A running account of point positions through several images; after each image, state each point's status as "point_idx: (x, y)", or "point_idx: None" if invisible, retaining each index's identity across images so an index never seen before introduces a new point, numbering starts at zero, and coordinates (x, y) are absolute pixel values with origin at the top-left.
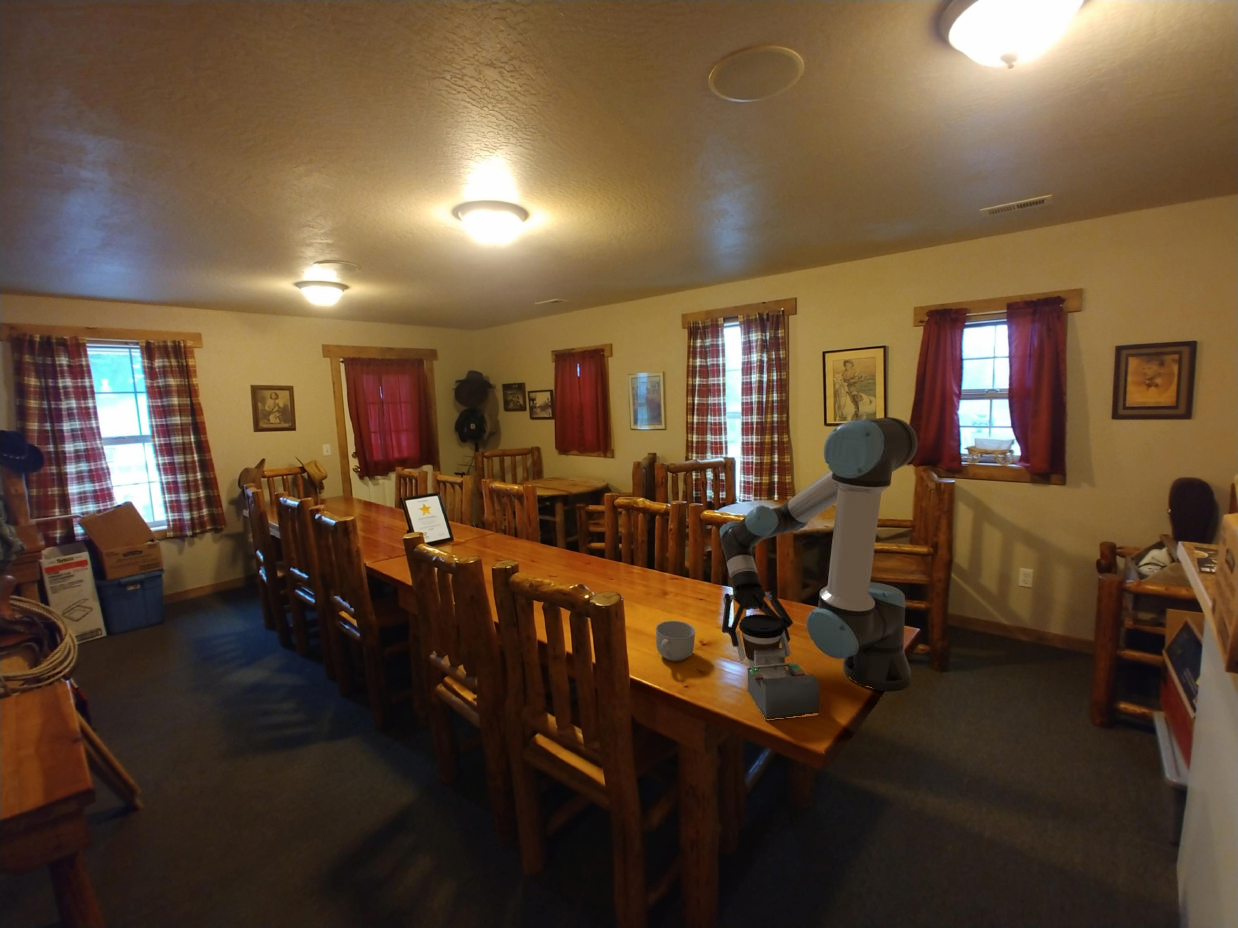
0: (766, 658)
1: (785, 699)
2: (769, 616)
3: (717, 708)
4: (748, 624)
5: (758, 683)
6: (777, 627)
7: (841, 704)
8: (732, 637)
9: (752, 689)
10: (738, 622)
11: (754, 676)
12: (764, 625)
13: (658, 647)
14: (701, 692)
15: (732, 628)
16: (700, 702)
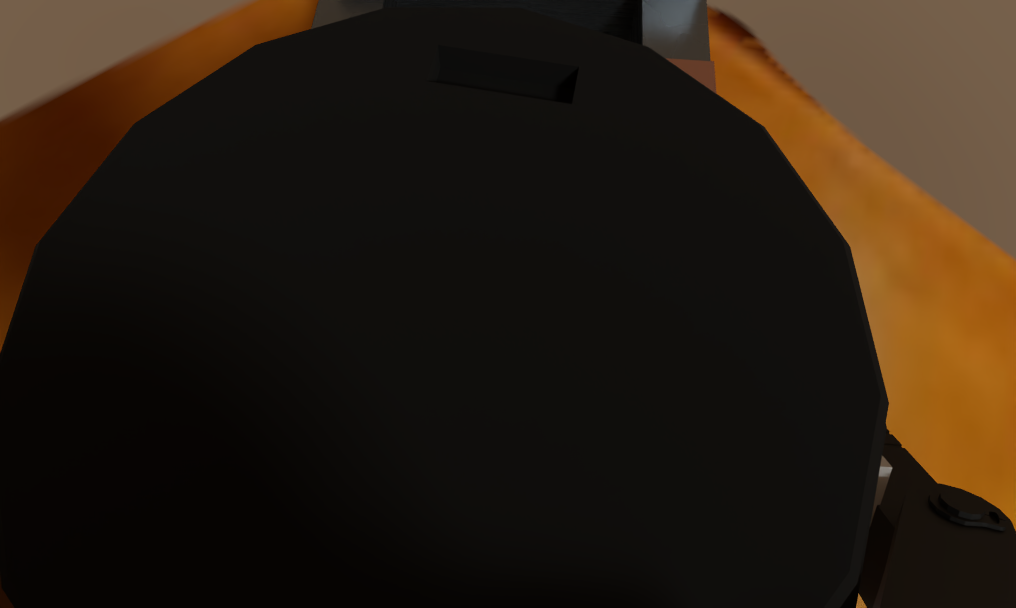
0: None
1: None
2: (64, 563)
3: (901, 194)
4: (744, 291)
5: (701, 27)
6: (263, 65)
7: (193, 84)
8: (914, 460)
9: None
10: (884, 601)
11: (710, 79)
12: (444, 181)
13: None
14: (995, 368)
15: (984, 520)
16: (1005, 267)
